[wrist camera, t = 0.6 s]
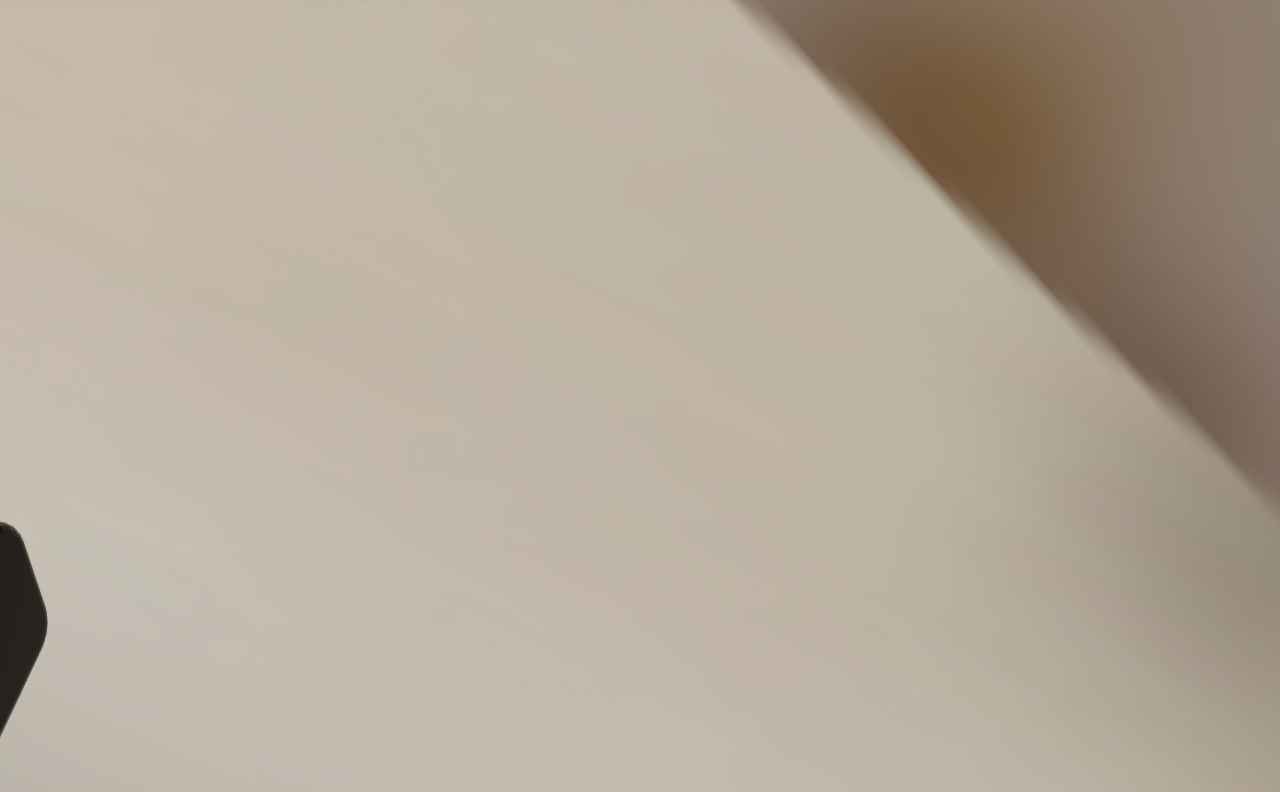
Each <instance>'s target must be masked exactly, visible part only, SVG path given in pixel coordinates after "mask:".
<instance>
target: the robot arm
mask: <svg viewBox="0 0 1280 792" xmlns="http://www.w3.org/2000/svg"><path fill="white" fill-rule="evenodd" d="M47 623H48V622H47V611H46V607H45V604H44V601H43V598H42V595H41V592H40V589H39V586H38V583H37V580H36V577H35V574H34V571H33V568H32V565H31V562H30V559H29V556H28V553H27V550H26V547H25V544H24V541H23V539H22V537H21V535H20V534H19V533H18V531H17V530H16V529H15V528H14V527H13V526H11V525H9V524H7V523H4V522H0V736H1V734H2V732H3V730H4V728H5V726H6V724H7V721H8V719H9V717H10V715H11V713H12V711H13V709H14V707H15V704H16V702H17V700H18V698H19V696H20V694H21V692H22V690H23V688H24V685H25V683H26V681H27V679H28V677H29V675H30V673H31V671H32V669H33V666H34V664H35V662H36V660H37V658H38V656H39V654H40V652H41V649H42V647H43V644H44V641H45V637H46V633H47Z"/></svg>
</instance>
